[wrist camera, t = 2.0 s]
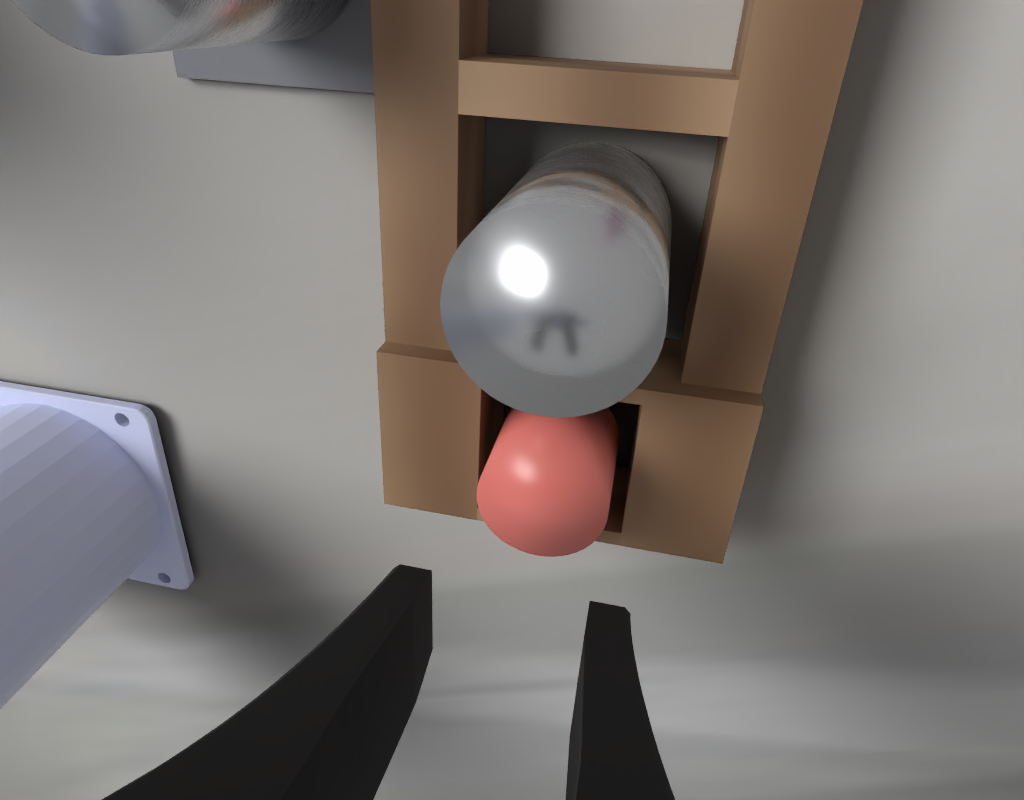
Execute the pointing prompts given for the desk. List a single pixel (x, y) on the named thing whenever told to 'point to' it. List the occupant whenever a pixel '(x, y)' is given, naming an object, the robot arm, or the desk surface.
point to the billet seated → (564, 284)
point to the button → (550, 481)
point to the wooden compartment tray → (718, 270)
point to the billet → (177, 22)
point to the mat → (295, 57)
